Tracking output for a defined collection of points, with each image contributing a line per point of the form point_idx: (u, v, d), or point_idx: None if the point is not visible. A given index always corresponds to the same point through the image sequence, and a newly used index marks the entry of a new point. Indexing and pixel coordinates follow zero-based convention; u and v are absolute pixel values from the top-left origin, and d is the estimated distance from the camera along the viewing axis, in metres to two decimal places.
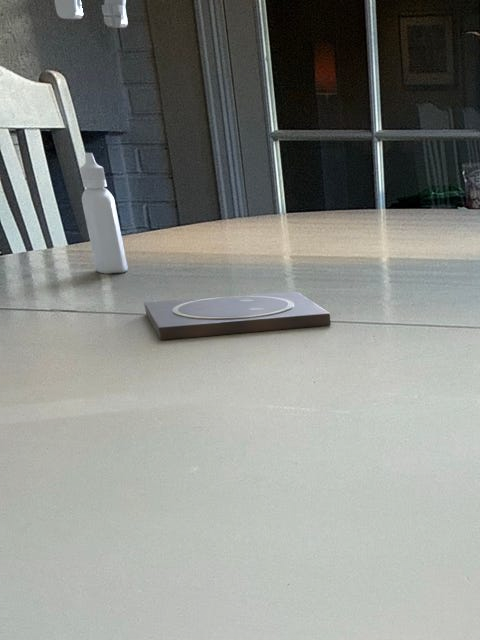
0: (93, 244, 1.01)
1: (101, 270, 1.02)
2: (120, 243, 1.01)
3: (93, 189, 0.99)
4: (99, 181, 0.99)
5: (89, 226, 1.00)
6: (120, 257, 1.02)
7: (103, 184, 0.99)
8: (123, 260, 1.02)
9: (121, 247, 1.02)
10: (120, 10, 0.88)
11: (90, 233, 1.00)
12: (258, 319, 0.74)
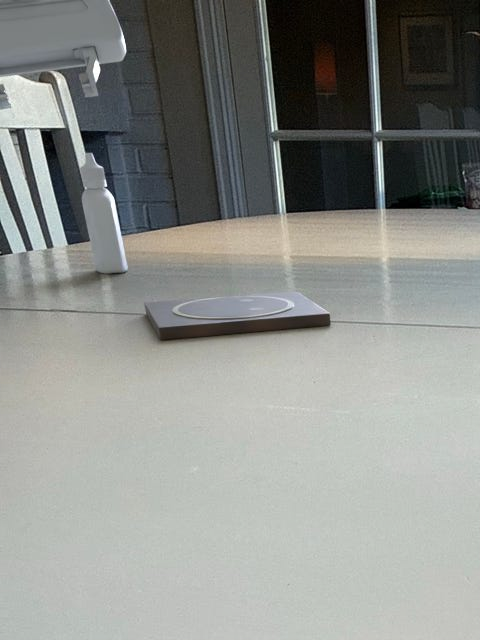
0: (93, 244, 1.01)
1: (101, 270, 1.02)
2: (120, 243, 1.01)
3: (93, 189, 0.99)
4: (99, 181, 0.99)
5: (89, 226, 1.00)
6: (120, 257, 1.02)
7: (103, 184, 0.99)
8: (123, 260, 1.02)
9: (121, 247, 1.02)
10: None
11: (90, 233, 1.00)
12: (258, 319, 0.74)
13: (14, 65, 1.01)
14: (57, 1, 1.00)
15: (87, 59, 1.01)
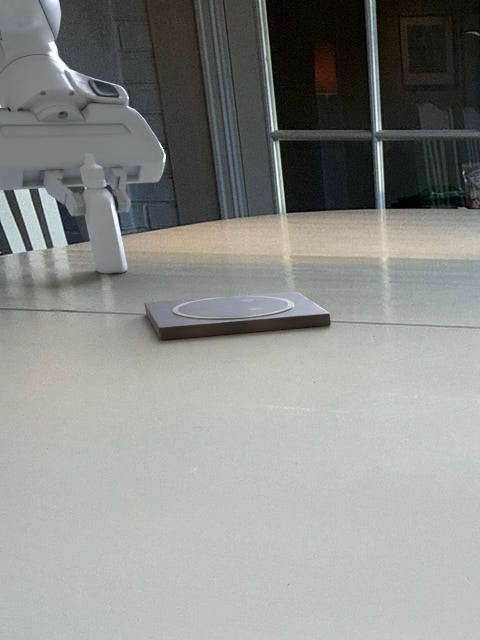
0: (93, 244, 1.01)
1: (101, 270, 1.02)
2: (120, 243, 1.01)
3: (93, 189, 0.99)
4: (99, 181, 0.99)
5: (89, 226, 1.00)
6: (120, 257, 1.02)
7: (103, 184, 0.99)
8: (123, 260, 1.02)
9: (121, 247, 1.02)
10: None
11: (90, 233, 1.00)
12: (258, 319, 0.74)
13: None
14: (101, 123, 1.02)
15: (117, 178, 1.02)
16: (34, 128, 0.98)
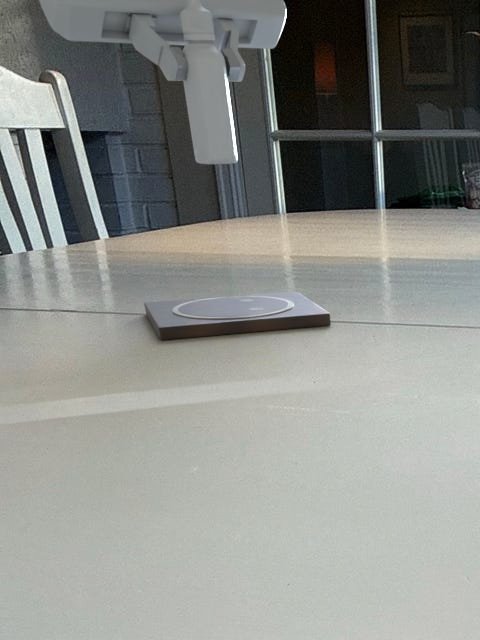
0: (195, 122, 0.74)
1: (205, 160, 0.74)
2: (231, 121, 0.74)
3: (198, 43, 0.72)
4: (206, 31, 0.71)
5: (191, 96, 0.73)
6: (232, 141, 0.74)
7: (211, 36, 0.72)
8: (235, 146, 0.75)
9: (232, 127, 0.74)
10: None
11: (192, 106, 0.73)
12: (258, 319, 0.74)
13: None
14: None
15: (226, 33, 0.75)
16: None
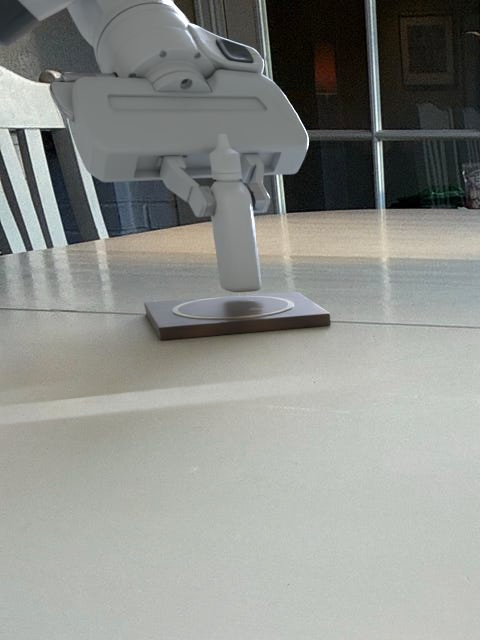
0: (222, 254, 0.77)
1: (231, 288, 0.78)
2: (256, 253, 0.78)
3: (226, 182, 0.75)
4: (234, 171, 0.75)
5: (218, 230, 0.76)
6: (257, 271, 0.78)
7: (238, 175, 0.75)
8: (259, 275, 0.78)
9: (257, 258, 0.78)
10: None
11: (219, 240, 0.77)
12: (258, 319, 0.74)
13: None
14: (231, 96, 0.79)
15: (252, 167, 0.78)
16: (150, 101, 0.74)
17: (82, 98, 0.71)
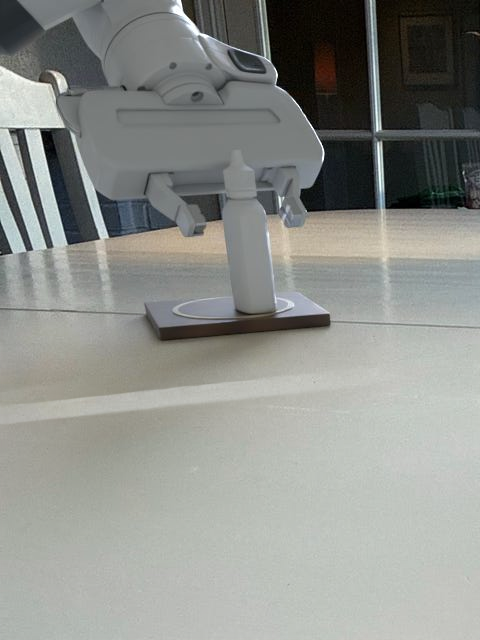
0: (236, 274, 0.74)
1: (246, 310, 0.75)
2: (272, 273, 0.75)
3: (240, 200, 0.72)
4: (249, 189, 0.72)
5: (232, 250, 0.73)
6: (272, 292, 0.75)
7: (253, 192, 0.72)
8: (274, 295, 0.75)
9: (273, 278, 0.75)
10: None
11: (233, 259, 0.74)
12: (258, 319, 0.74)
13: (190, 182, 0.73)
14: (243, 108, 0.76)
15: (288, 181, 0.76)
16: (160, 115, 0.71)
17: (89, 113, 0.68)
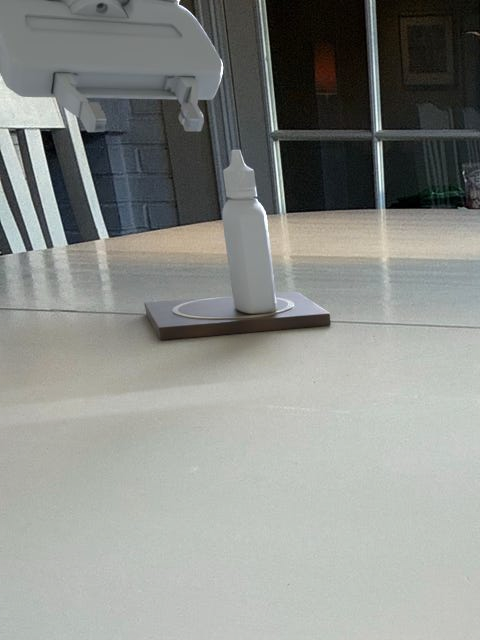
0: (236, 274, 0.74)
1: (246, 310, 0.75)
2: (272, 273, 0.75)
3: (240, 200, 0.72)
4: (249, 189, 0.72)
5: (232, 250, 0.73)
6: (272, 292, 0.75)
7: (253, 192, 0.72)
8: (274, 295, 0.75)
9: (273, 278, 0.75)
10: None
11: (233, 259, 0.74)
12: (258, 319, 0.74)
13: (96, 86, 0.82)
14: (147, 22, 0.84)
15: (187, 89, 0.85)
16: (66, 23, 0.80)
17: (0, 16, 0.76)
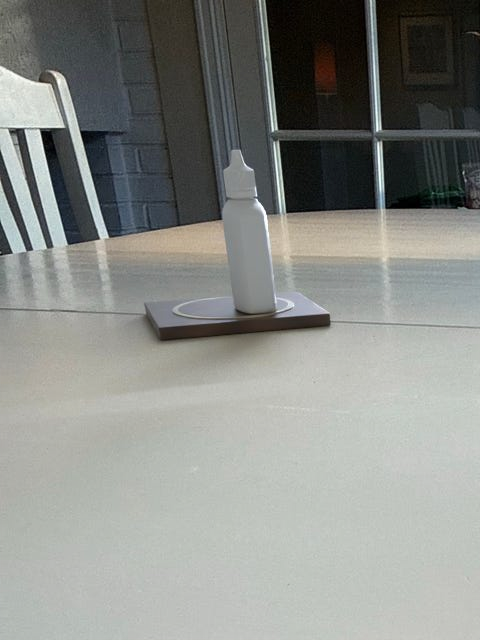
0: (236, 274, 0.74)
1: (246, 310, 0.75)
2: (272, 273, 0.75)
3: (240, 200, 0.72)
4: (249, 189, 0.72)
5: (232, 250, 0.73)
6: (272, 292, 0.75)
7: (253, 192, 0.72)
8: (274, 295, 0.75)
9: (273, 278, 0.75)
10: None
11: (233, 259, 0.74)
12: (258, 319, 0.74)
13: None
14: None
15: None
16: None
17: None
